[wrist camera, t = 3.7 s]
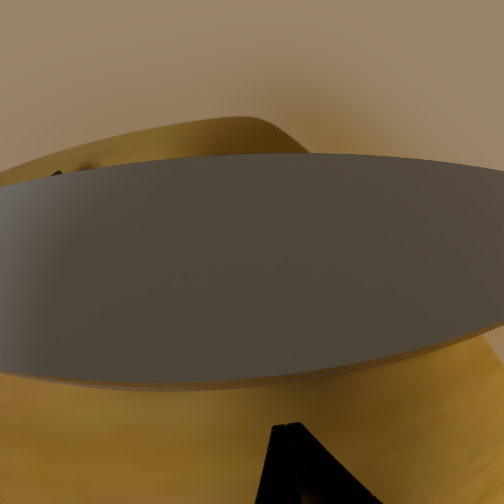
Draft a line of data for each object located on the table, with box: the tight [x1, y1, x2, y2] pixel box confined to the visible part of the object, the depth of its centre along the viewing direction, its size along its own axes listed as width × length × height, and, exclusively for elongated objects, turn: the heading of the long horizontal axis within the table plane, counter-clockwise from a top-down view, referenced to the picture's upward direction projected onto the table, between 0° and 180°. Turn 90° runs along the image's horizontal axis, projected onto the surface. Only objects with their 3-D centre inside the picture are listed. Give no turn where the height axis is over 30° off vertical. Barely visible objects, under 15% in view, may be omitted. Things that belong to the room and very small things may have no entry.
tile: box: [0, 153, 504, 392], centre depth 9 cm, size 2×10×14 cm, turn 96°
